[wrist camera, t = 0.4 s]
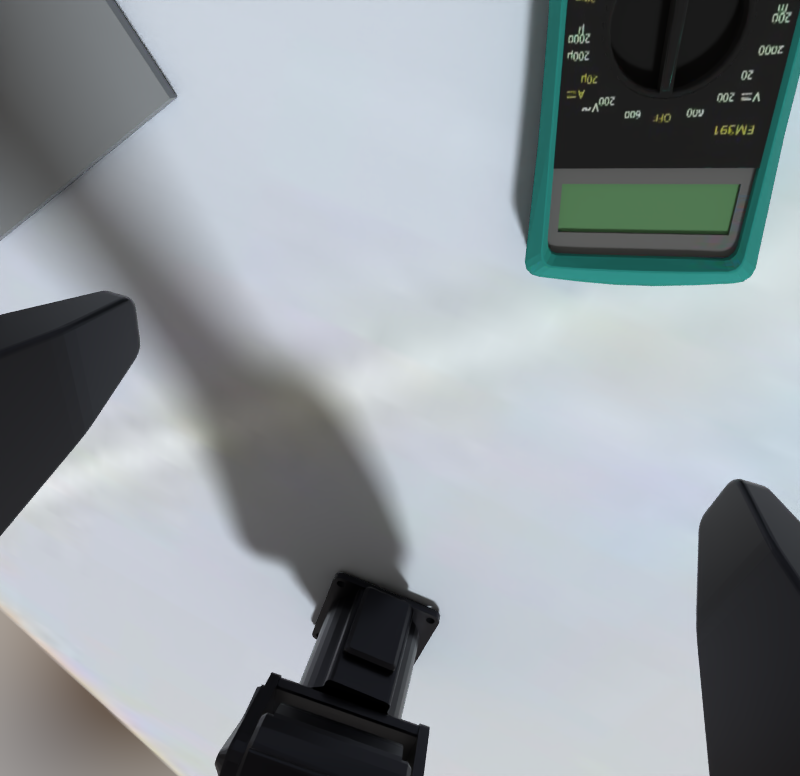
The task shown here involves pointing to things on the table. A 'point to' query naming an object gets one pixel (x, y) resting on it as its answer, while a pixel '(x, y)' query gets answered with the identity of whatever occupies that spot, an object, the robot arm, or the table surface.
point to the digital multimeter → (660, 138)
